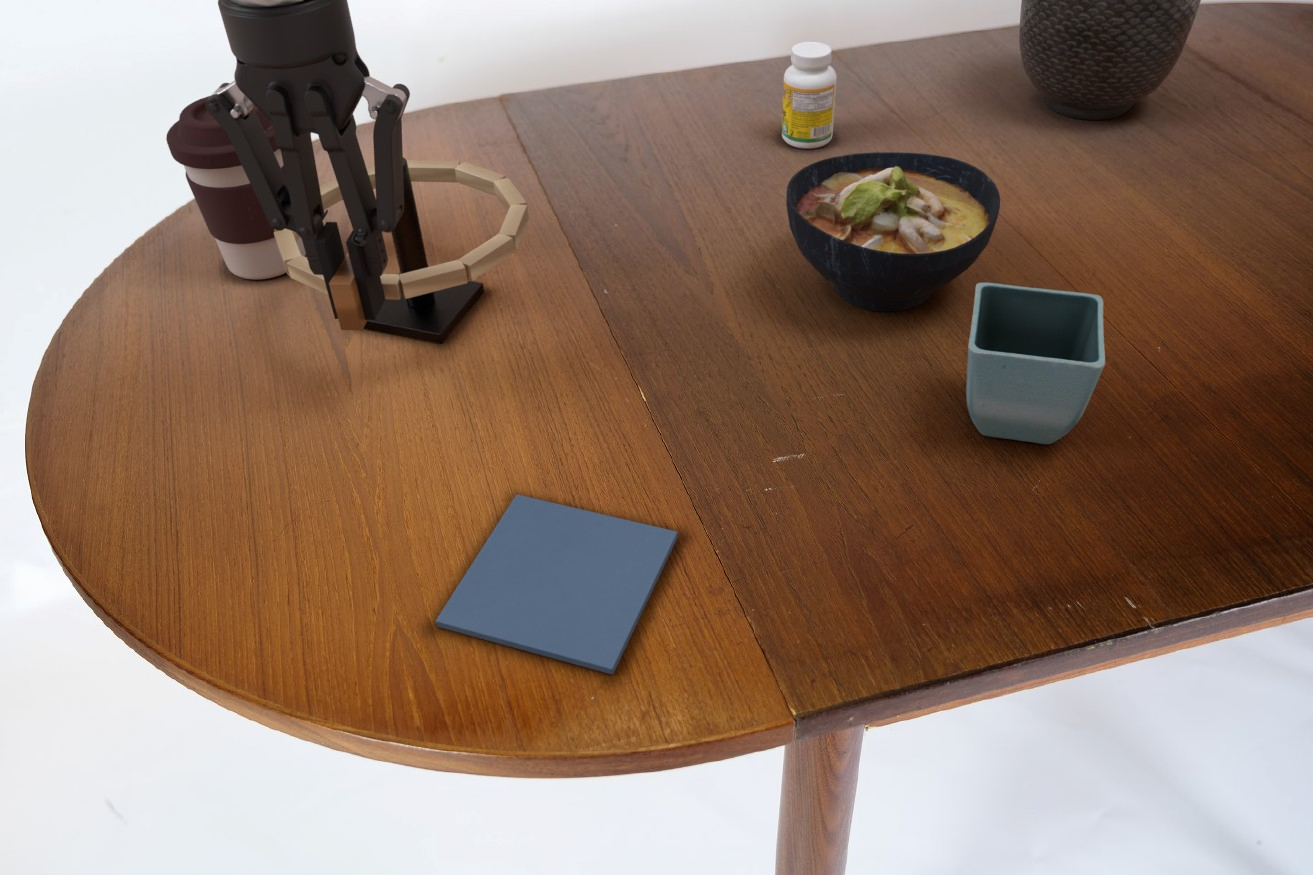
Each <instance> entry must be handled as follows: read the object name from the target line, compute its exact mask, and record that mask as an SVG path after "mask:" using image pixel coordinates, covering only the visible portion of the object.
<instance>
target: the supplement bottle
mask: <svg viewBox="0 0 1313 875" xmlns="http://www.w3.org/2000/svg"><path fill="white" fill-rule="evenodd" d="M832 51H833V50H832V48H831V46H830V45H828V44H826V43H823V42H820V41H802V42H799V43H796V44H794V45H793V46H792V47H791V52H790V55H791V56H790V61H791V65H790V66H789V67H787V69H786V70H785V72H784V74H783V87H782V88H783V92H782V115H781V117H782V118H781V119H782V120H781V137H782V139H783V140H784V141H785V143H787V144H788V145H789V146H792V147H794V148H798V149H804V150H805V149H809V150H810V149H817V148H821V147H824V146H826V145H828V144H829V143H830V142H831V140H832V139H833V134H834V121H835V120H834V119H835V108H836V106H835V105H836V93H837V73H836V71H835V69H834V68H833V67H832V66H831V63H832V61H833V60H832V56H833V55H832Z"/></svg>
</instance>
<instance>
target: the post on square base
mask: <svg viewBox="0 0 1313 875" xmlns="http://www.w3.org/2000/svg"><path fill="white" fill-rule="evenodd" d="M407 160H408V159H406V157H403V185H404V212H403V214H402V216H401V217H400V219H399V221H398V223H397V225H396V227H395V229H394V230H393V231H392V232H390V233H391V238H392V242H393V247H394V252H395V255H396V261H397V265H398V268H399V269H398V270H399V273H398V274H403V273H407V272H411V271H415V270H419V269H423V268H427V267H429V263H428V258H427V252H426V248H425V243H424V238H423V232H422V228H421V222H420V218H419V212H418V209H417V204H416V199H415V194H414V189H413V184H412V182H411V178H410V174H409V169H408V164H407ZM467 281H468V283H466V284H462V285H458V286H454V287H450V288H446V289H443V290H439V291H435V292H431V293H427V294H423V295H419V296H415V297H412V298H408V299H405V297H404V295H403V294H402V296H401V298H400V299H399V300H396V299H385V301H384V303H383V305H382V307H381V309H380V311H379V313H378V315H377V317H376V319H375V320H367V322H366V324H365V326H364V328H363V330H369V331H374V332H380V333H384V334H390V335H395V336H401V337H405V338H411V339H416V340H420V341H426V342H430V343H435V344H436V343H437V344H443V343H444V342H445V341H446V339H447V338H448V337H449V336H450V334H451V333H453V331H454V330H455V329H456V327H457V326H458V325H459V324H460V323H461V321H462V320H463V319H464V318H465V317H466V315H467V314H468V313H469V312H470V311H471V309H472V308H473V307H474V305H476V303H477V302H478V301H479V299H480V298H481V297H482V296H483V295H484V293H485V288H484V283H483V282H480V281H475V280H473V281H471V280H469V279H467Z"/></svg>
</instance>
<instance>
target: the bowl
mask: <svg viewBox="0 0 1313 875" xmlns="http://www.w3.org/2000/svg"><path fill="white" fill-rule="evenodd" d="M1000 195H1001V194H1000V192H999V188H998V186H997V184H996V183H995V182H994V181H993V179H992V178H991V177H989V175H987V173H985V171H983V170H981V169H980V168H978V167H976V166H975V165H973V164H970V163H968V162H965V161H963V160H959V159H957V158H953V157H948V156H941V155H935V154H929V153H921V152H919V153H918V152H903V151H901V152H900V151H899V152H896V151H895V152H890V151H889V152H883V151H881V152H878V151H877V152H876V151H874V152H859V153H858V152H857V153H850V154H844V155H838V156H833V157H829V158H823V159H821V160H819V161H816V162H813V163H811V164H808V165H806V166H804V167H803V168H801V169H800V170H798V171H797V172H796V173H795V174H793V176H791V179H790V180H789V181H788V183H787V186H786V197H785V198H786V200H785V201H786V203H785V204H786V212H787V218H788V224H789V230H790V231H791V234H792V236H793V238H794V241H795V243H796V245H797V247H798V249H799V251H800V252H801V254H802V256H803V258H805V259H806V260H807V262H808V263H809V264H810V265H811V266H812V268H814V270H816V271H817V272H818V273H819V275H821V277H822V278H824V279H825V280H826V281H828V282H829V283H831V285H832V287H833V289H834V290H835V292H836V294H838V295H839V297H841V298H842V299H843V300H844V301H845V302H847V303H849V304H851V305H853V306H855V307H858V308H861V309H864V310H868V311H874V312H898V311H905V310H908V309H911V308H916V307H917V306H919V305H920V304H922V303H924V302H925V301H926V300H927V299H928V298H929V297H930V296H931V295H932V293H934V292H935V291H937V290H939V289H940V288H943V287H944V286H946V285H948V284H949V283H951V282H953V281H954V280H955V279H956V278H957V277H959V276H960V275H961V274H963V273H964V272H965V271H967V270H968V269H969V268H970V267H971V266H972V265H973V264H974V263H975V262H976V261H977V259H978V258H979V257H980V256H981V254H982V253H983V252H984V250H985V249H986V248H987V246H988V244H989V242H990V240H991V237H992V235H993V232H994V230H995V227H996V223H997V220H998V218H999V214H1000V209H1001V196H1000Z"/></svg>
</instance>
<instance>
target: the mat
mask: <svg viewBox="0 0 1313 875" xmlns="http://www.w3.org/2000/svg"><path fill="white" fill-rule="evenodd" d="M678 534H679V532H678V531H676V530H672V529H668V528H663V527H659V526H655V525H650V524H646V523H642V522H637V521H633V520H629V519H626V518H625V519H624V518H621V517H615V516H612V515H607V514H603V513H599V512H595V511H590V510H587V509H582V508H577V507H572V506H568V505H565V504H559V503H555V502H551V501H547V500H543V499H538V498H534V497H530V496H526V495H521V494H516V495H515V496H514V497H513V499H512V500H511V503H510V504H509V505H508V507H507V508H506V510H505V512H504V513H503V515H502V517H501V518H500V520H499V521H498V522H497V523H496V526H495V527H494V528H493V530H492V532H491V533H490V535H489V537H488V538H487V540H486V541H485V543H484V545H483V546H482V548H481V549H480V551H479V552H478V554H477V555H476V557H475V559H474V560H473V561H472V563H471V565H470V566H469V568H468V569H467V571H466V572H465V574H464V576H463V577H462V579H461V580H460V581H459V584H458V585H457V587H456V588H455V590H454V591H453V593H452V595H451V596H450V597H449V599H448V601H447V602H446V604H445V605H444V607H443V608H442V610H441V611H440V613H439V615H438V616H437V618H436V619H435V624H436V627H437V628H441V629H445V630H448V631H451V632H455V633H458V634H462V635H465V636H470V637H474V638H477V639H480V640H485V641H488V642H492V643H495V644H498V645H503V646H507V647H510V648H513V649H517V650H520V651H524V652H528V653H532V654H535V655H539V656H543V657H546V658H550V659H554V660H558V661H561V662H564V663H567V664H568V663H569V664H572V665H574V666H575V665H576V666H579V667H583V668H587V669H590V670H594V671H597V672H601V673H605V674H608V675H611V676H612V675H614V673H615V672H616V669H617V668H618V665H619V663H620V661H621V659H622V657H623V654H624V652H625V650H626V648H627V646H628V644H629V642H630V640H631V638H632V635H633V633H634V631H635V629H636V627H637V624H638V622H639V621H640V619H641V616H642V614H643V612H644V610H645V608H646V605H647V603H648V601H649V599H650V597H651V595H652V593H653V591H654V589H655V587H656V584H657V582H658V580H659V578H660V576H661V573H662V572H663V570H664V568H665V565H666V563H667V562H668V560H669V557H670V555H671V552H672V551H673V548H674V546H675V545H676V542H677V541H678V537H679V535H678Z"/></svg>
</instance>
